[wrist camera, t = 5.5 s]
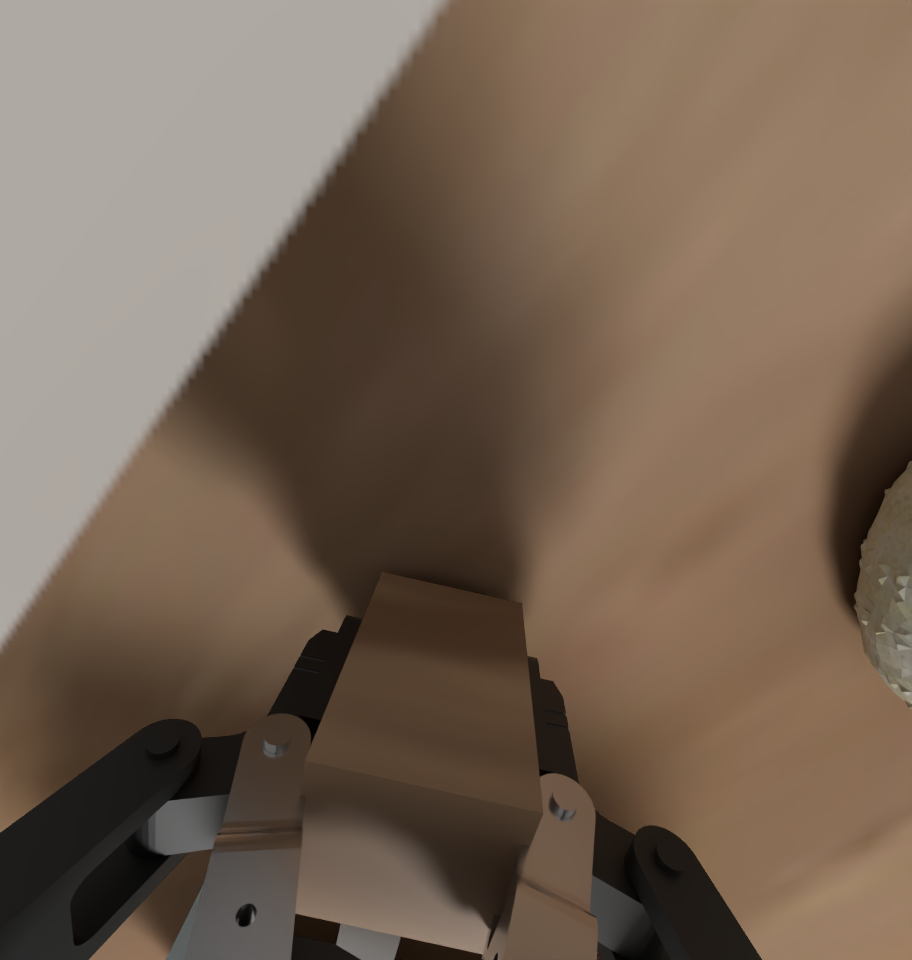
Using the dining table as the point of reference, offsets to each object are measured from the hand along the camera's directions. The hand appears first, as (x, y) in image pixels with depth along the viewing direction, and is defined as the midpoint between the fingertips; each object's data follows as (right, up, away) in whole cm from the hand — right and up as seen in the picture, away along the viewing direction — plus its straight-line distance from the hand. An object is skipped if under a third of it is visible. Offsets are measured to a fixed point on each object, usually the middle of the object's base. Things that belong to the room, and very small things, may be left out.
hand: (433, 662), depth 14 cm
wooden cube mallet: (-1, -5, +3) cm, 6 cm away
